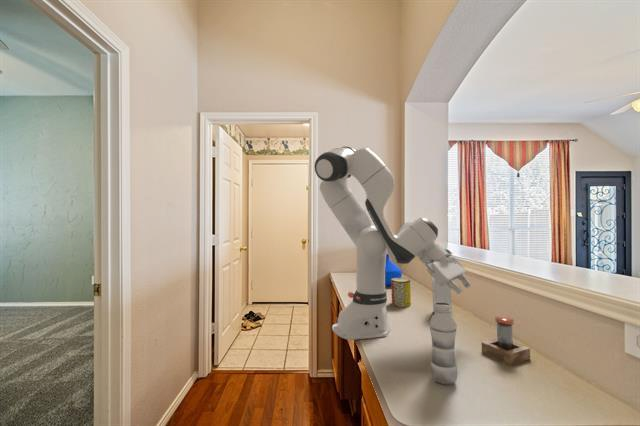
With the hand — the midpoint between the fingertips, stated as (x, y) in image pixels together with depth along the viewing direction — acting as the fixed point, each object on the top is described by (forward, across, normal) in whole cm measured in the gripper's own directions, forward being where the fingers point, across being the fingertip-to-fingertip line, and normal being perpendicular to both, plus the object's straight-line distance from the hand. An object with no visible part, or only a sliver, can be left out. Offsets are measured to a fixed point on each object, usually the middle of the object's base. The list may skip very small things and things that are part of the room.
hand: (465, 289), depth 98 cm
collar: (+21, -2, +5) cm, 21 cm away
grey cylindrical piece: (+21, -2, +5) cm, 21 cm away
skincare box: (+1, +23, +25) cm, 34 cm away
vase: (-32, +60, +58) cm, 89 cm away
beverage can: (-14, +26, +39) cm, 49 cm away
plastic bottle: (+14, -28, +11) cm, 34 cm away
